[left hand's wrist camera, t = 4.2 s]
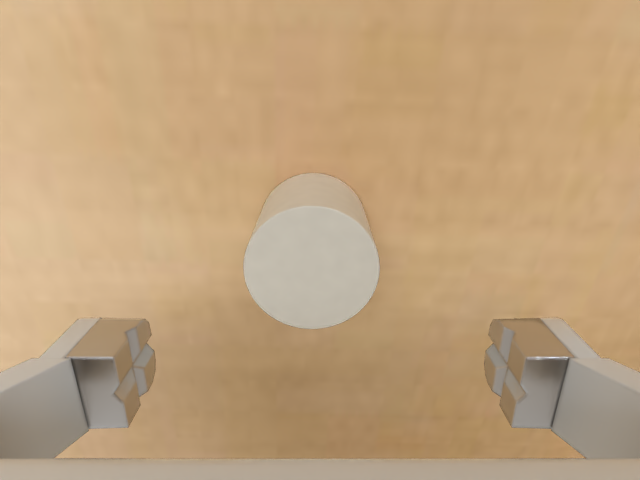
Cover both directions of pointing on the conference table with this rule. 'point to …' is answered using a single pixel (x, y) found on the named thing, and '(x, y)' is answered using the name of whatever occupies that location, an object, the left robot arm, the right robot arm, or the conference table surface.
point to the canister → (312, 253)
